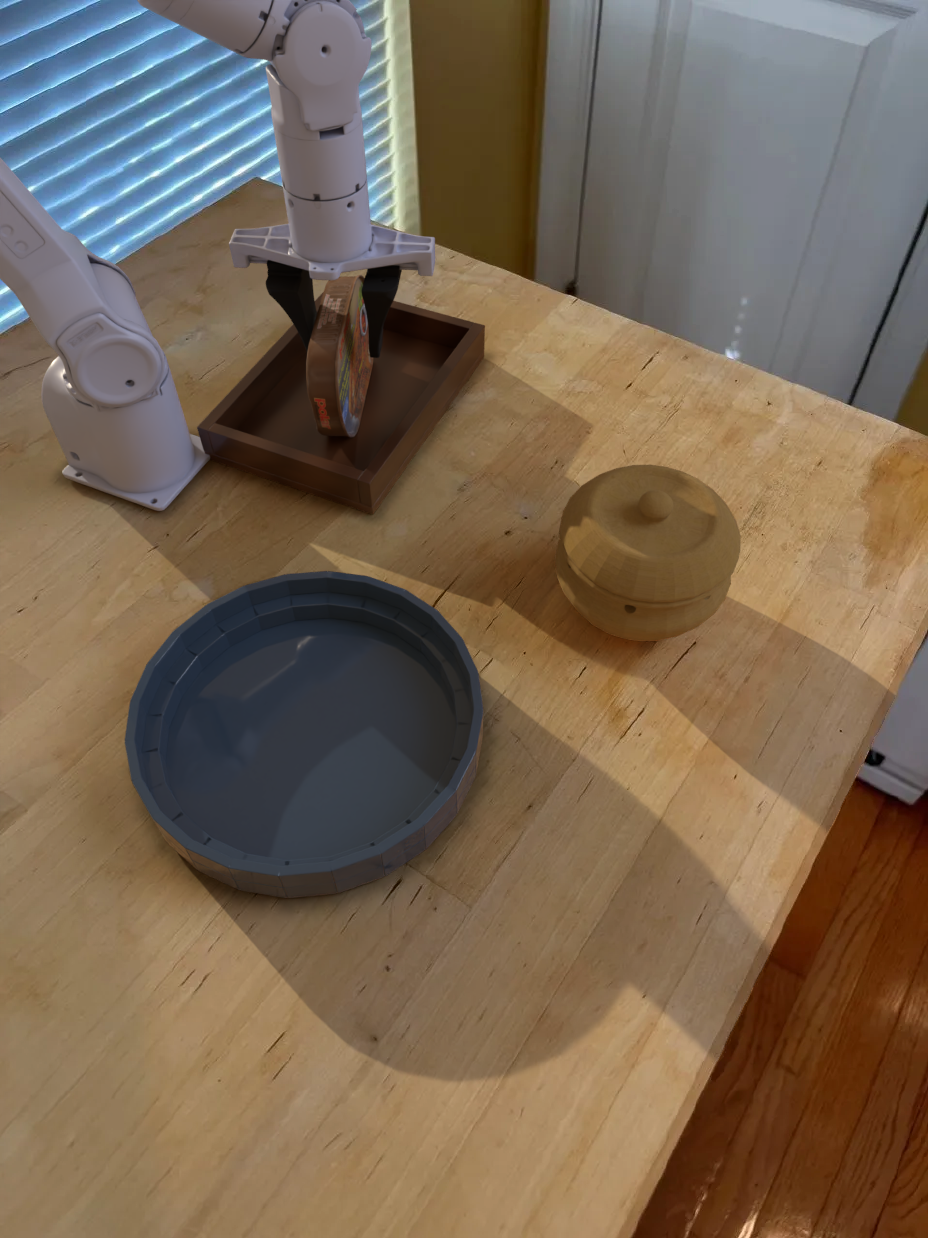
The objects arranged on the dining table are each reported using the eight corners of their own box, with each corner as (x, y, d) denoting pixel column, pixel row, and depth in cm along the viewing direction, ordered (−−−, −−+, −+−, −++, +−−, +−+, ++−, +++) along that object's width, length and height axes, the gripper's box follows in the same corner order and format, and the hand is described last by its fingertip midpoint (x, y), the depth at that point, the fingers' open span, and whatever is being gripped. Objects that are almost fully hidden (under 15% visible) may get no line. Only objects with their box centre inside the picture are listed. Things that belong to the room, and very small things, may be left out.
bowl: (69, 812, 56) (49, 785, 53) (259, 566, 68) (250, 533, 65) (385, 961, 51) (381, 939, 48) (532, 666, 62) (535, 635, 60)
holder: (205, 458, 75) (196, 426, 72) (335, 315, 86) (330, 283, 84) (373, 515, 71) (369, 483, 68) (484, 357, 82) (485, 324, 80)
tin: (352, 459, 73) (340, 371, 67) (312, 457, 74) (296, 369, 67) (378, 342, 82) (371, 254, 76) (343, 340, 83) (332, 252, 76)
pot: (730, 556, 68) (765, 453, 60) (705, 685, 61) (741, 589, 54) (572, 521, 70) (586, 417, 63) (532, 641, 64) (541, 542, 56)
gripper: (204, 205, 61) (243, 375, 72) (425, 215, 60) (431, 385, 71) (229, 152, 65) (262, 320, 76) (436, 160, 65) (440, 329, 76)
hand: (345, 348), depth 74 cm, fingers open, 4 cm apart
